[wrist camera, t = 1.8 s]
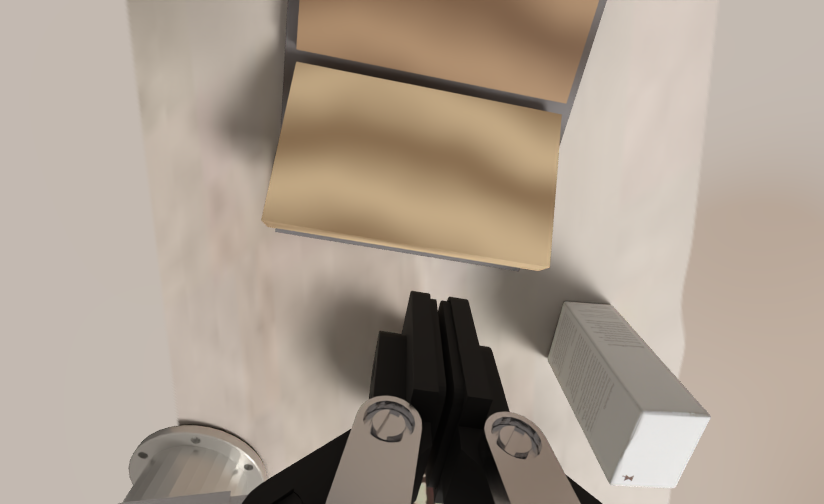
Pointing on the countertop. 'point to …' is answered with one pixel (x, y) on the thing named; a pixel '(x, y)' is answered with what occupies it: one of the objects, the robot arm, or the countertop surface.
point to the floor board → (450, 52)
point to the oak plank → (415, 169)
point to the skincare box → (624, 398)
